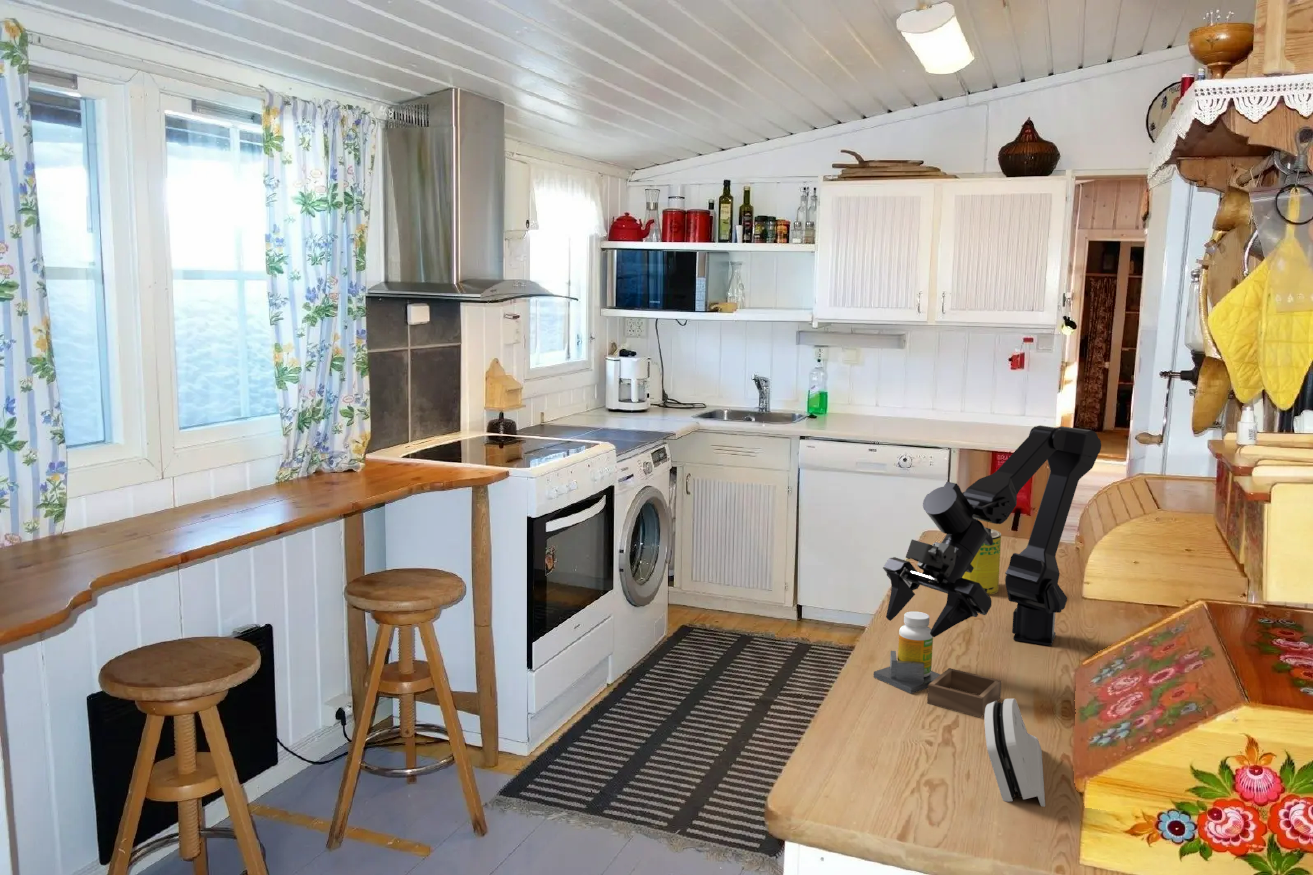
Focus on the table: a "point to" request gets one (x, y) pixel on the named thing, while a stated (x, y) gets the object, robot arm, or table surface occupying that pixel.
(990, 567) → the beverage can
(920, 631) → the supplement bottle
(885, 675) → the v-block
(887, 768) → the table surface
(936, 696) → the block
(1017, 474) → the robot arm
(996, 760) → the white black-striped casing block
